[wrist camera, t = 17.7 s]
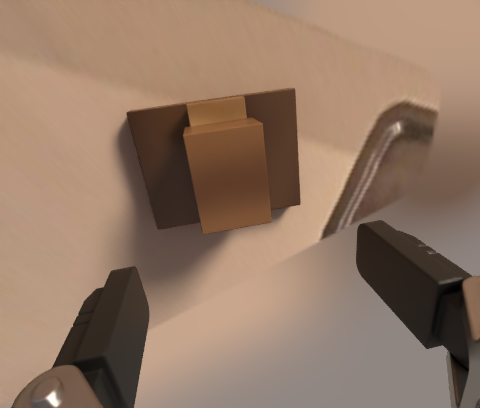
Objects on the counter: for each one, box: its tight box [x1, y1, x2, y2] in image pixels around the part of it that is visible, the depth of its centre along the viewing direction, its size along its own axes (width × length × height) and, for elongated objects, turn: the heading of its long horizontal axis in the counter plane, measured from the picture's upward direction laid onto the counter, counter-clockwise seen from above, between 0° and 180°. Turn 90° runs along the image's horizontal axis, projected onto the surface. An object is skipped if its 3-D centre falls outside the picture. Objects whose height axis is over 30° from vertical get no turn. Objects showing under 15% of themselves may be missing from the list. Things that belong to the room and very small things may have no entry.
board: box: [127, 88, 300, 230], centre depth 25 cm, size 13×10×2 cm
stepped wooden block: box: [183, 96, 272, 234], centre depth 22 cm, size 10×5×5 cm, turn 7°
